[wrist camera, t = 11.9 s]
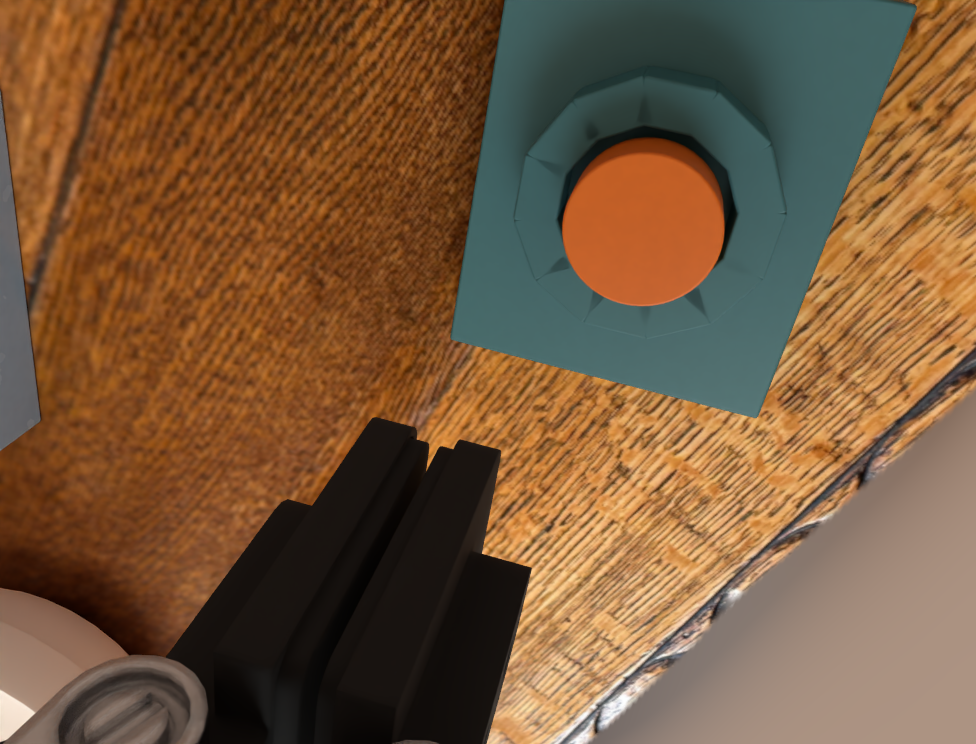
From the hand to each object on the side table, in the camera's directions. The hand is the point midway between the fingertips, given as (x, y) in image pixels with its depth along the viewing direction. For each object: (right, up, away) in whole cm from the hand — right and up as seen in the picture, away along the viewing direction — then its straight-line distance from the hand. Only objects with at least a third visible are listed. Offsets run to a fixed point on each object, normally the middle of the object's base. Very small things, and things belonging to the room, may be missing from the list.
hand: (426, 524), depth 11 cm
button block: (+6, +8, +15) cm, 18 cm away
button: (+5, +6, +12) cm, 14 cm away
